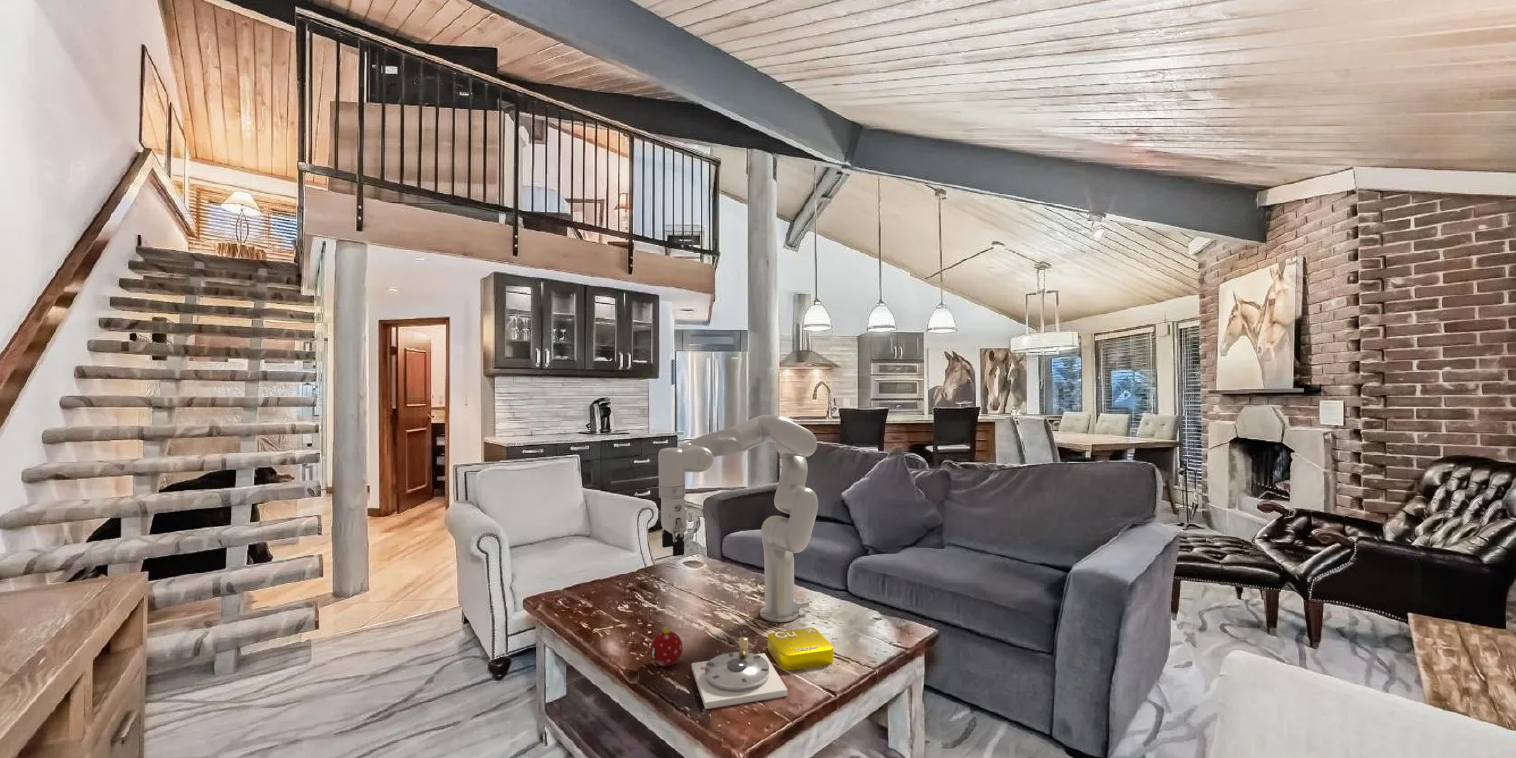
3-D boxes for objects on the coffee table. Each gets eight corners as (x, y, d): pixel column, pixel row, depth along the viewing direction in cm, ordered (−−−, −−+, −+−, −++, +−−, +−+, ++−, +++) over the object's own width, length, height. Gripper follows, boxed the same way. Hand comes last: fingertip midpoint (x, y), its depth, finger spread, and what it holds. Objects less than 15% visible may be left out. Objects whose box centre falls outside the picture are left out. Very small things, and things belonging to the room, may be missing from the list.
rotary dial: (760, 694, 140) (759, 667, 140) (696, 686, 144) (695, 659, 144) (775, 663, 156) (775, 638, 156) (717, 656, 160) (716, 632, 160)
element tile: (782, 673, 155) (782, 654, 155) (765, 648, 170) (765, 631, 170) (836, 664, 160) (835, 646, 160) (815, 641, 174) (814, 624, 174)
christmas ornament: (689, 664, 160) (688, 627, 160) (662, 675, 154) (661, 636, 154) (670, 653, 166) (670, 618, 166) (644, 664, 160) (643, 627, 160)
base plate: (764, 658, 162) (764, 652, 162) (787, 695, 143) (787, 688, 143) (691, 668, 157) (691, 662, 157) (705, 709, 138) (705, 701, 138)
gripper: (695, 495, 165) (695, 557, 165) (675, 485, 181) (675, 542, 181) (668, 497, 162) (669, 561, 162) (650, 487, 177) (651, 545, 177)
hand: (673, 551), depth 171 cm, fingers open, 9 cm apart
